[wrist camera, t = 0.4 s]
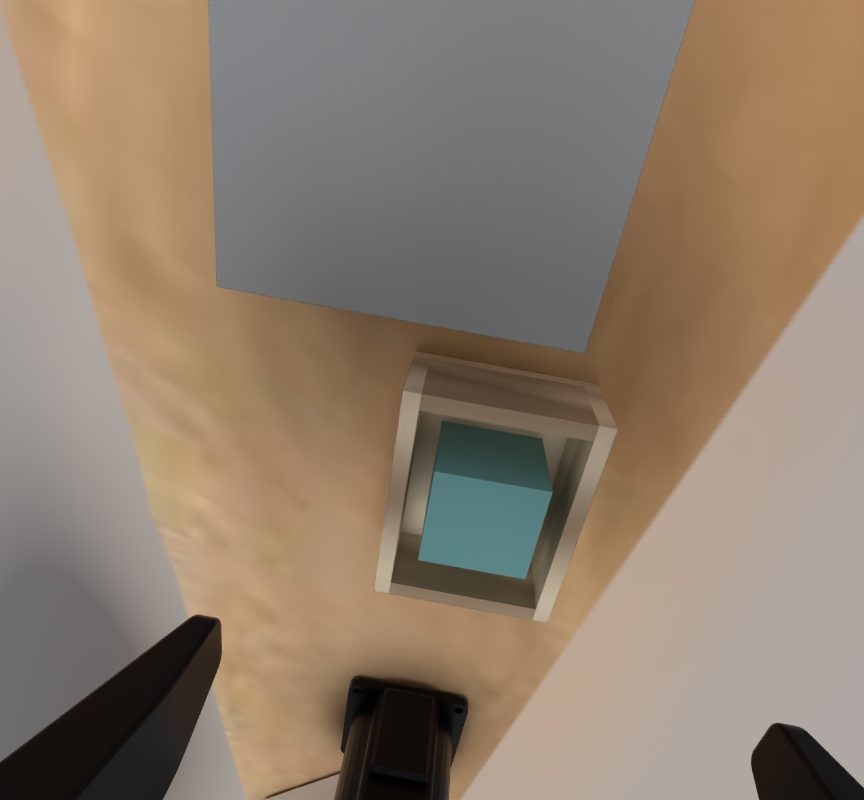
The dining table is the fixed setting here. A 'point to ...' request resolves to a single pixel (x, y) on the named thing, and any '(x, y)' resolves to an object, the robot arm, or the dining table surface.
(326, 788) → the milk carton
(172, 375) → the dining table surface
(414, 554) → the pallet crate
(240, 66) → the block
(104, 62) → the dining table surface
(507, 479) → the cargo block
